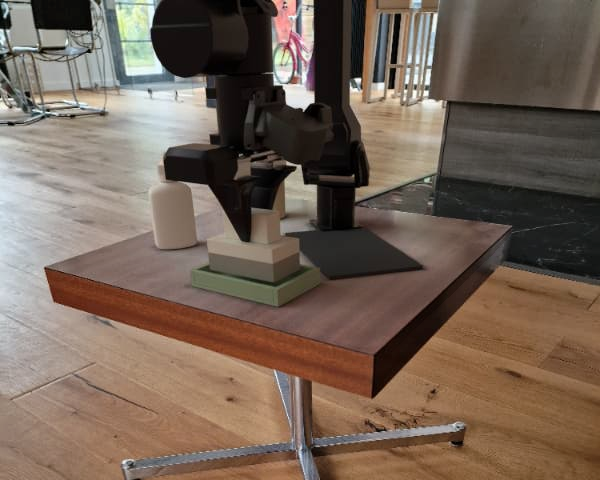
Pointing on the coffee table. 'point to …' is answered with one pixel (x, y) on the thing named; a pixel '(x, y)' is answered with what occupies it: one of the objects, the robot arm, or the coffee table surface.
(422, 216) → the coffee table surface
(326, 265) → the mat
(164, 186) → the eye dropper bottle
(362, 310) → the coffee table surface
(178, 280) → the coffee table surface
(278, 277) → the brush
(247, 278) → the tray
